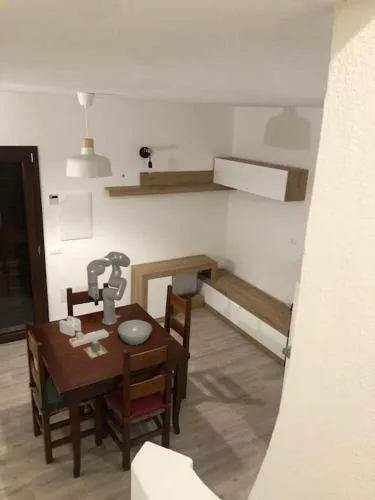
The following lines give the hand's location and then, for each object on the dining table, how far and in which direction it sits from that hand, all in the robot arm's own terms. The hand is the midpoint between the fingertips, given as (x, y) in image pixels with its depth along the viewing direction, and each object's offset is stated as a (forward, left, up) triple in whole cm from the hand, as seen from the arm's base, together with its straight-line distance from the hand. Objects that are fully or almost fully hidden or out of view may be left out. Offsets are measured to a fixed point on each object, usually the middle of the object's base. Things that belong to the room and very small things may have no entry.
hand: (93, 302), depth 322 cm
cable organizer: (+14, -14, -29) cm, 36 cm away
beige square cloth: (+9, +22, -29) cm, 38 cm away
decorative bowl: (-23, +26, -29) cm, 45 cm away
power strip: (+3, +4, -29) cm, 29 cm away
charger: (+9, +22, -28) cm, 37 cm away
